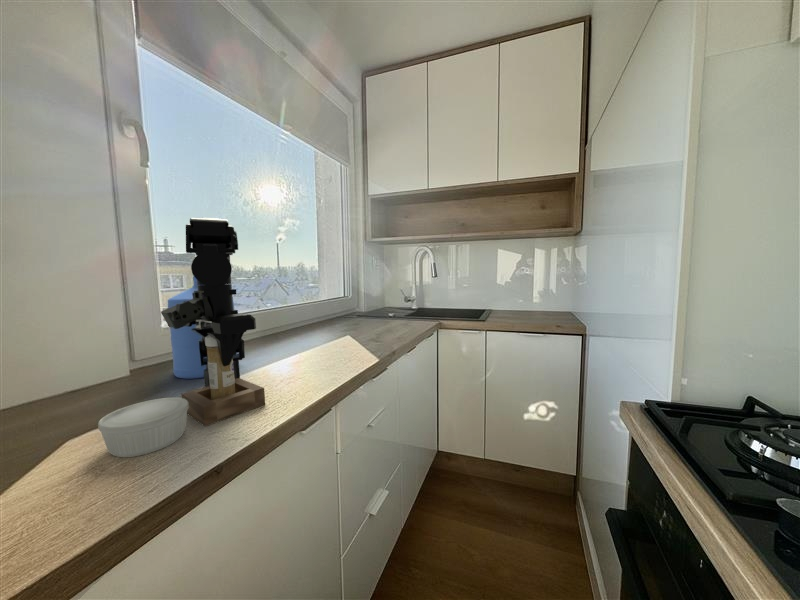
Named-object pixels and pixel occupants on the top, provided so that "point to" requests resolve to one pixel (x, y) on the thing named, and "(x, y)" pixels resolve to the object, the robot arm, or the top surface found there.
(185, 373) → the water jug
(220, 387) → the sprinkles bottle
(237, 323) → the robot arm
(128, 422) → the ramekin
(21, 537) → the top surface
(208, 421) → the socket block
